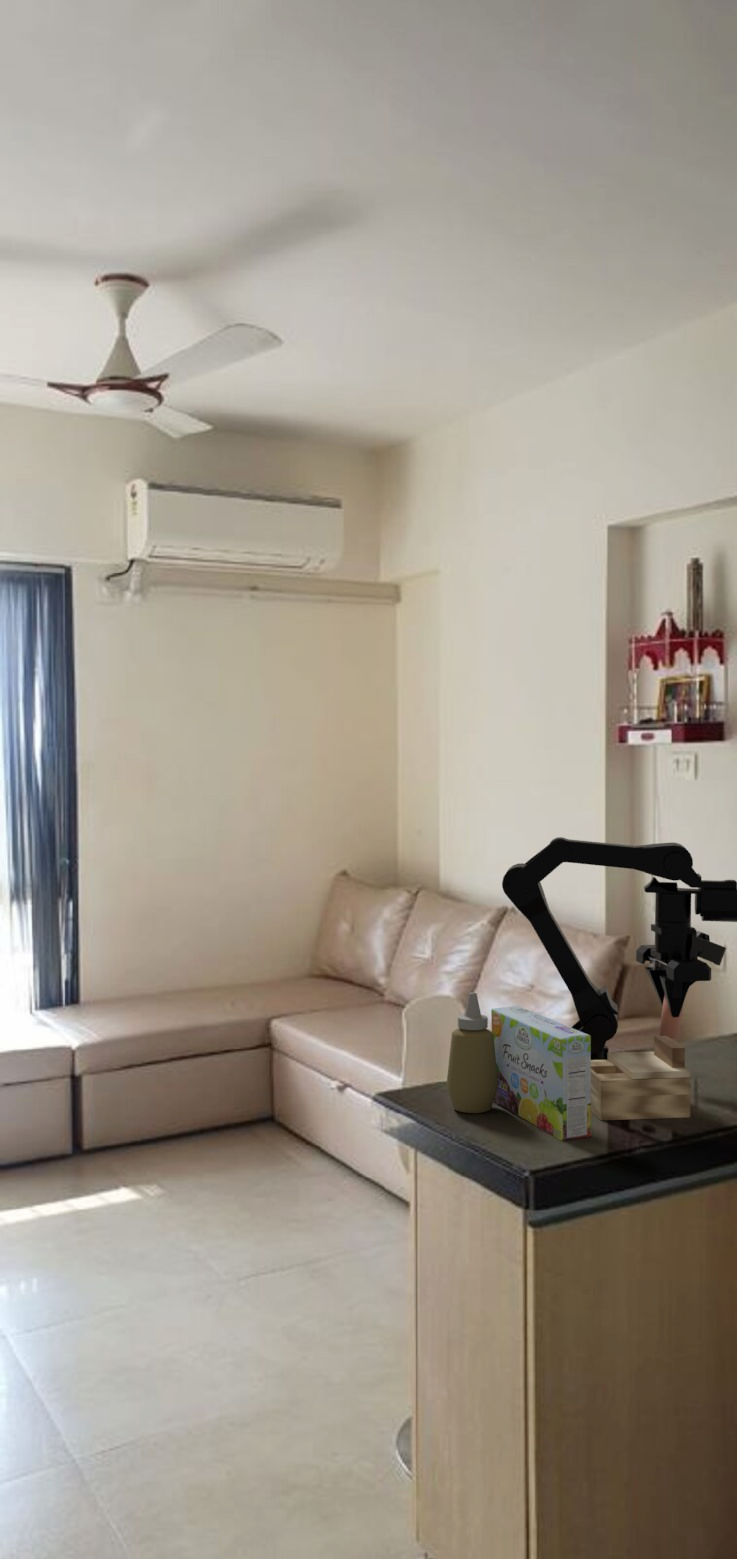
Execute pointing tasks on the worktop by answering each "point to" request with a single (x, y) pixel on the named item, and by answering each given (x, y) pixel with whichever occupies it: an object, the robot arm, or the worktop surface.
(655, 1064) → the lid
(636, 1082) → the wooden box
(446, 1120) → the worktop surface
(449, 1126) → the worktop surface
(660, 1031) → the key peg
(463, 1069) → the squeeze bottle
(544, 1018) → the snack box
